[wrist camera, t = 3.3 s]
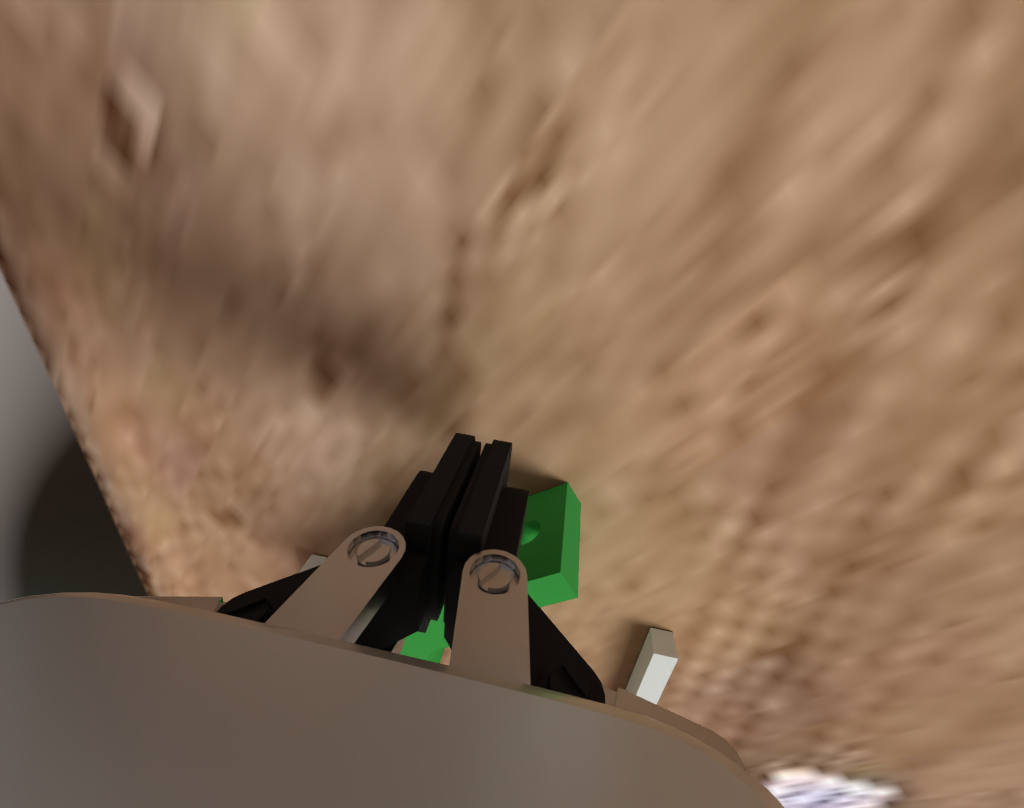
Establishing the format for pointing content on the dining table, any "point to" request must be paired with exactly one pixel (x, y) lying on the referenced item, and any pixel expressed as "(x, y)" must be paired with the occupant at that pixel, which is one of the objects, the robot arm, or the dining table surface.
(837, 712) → the dining table surface
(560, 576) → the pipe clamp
